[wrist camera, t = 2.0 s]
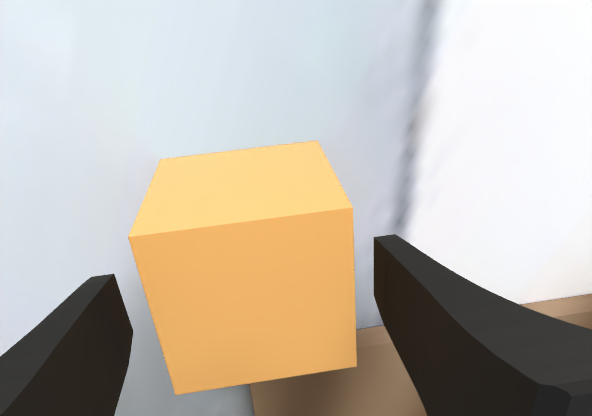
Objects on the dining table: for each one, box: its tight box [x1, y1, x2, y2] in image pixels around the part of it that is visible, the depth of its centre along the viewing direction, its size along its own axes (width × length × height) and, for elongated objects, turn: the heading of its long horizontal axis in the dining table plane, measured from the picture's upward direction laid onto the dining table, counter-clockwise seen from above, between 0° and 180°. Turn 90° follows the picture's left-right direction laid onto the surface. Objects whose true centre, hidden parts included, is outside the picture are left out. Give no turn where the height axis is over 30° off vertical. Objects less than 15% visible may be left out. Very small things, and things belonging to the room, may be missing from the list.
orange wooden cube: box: [128, 141, 357, 395], centre depth 14 cm, size 5×5×5 cm
